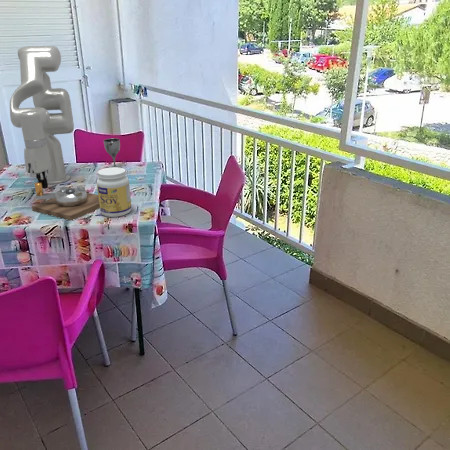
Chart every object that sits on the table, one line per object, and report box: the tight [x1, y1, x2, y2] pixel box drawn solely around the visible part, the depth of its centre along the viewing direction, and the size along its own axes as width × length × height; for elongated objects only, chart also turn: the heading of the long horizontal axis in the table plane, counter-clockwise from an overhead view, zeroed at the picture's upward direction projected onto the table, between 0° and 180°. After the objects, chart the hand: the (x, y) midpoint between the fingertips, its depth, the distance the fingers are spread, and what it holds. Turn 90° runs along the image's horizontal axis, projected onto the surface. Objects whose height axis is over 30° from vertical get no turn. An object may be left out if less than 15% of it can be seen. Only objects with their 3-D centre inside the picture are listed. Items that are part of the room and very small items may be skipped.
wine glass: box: [103, 137, 122, 168], centre depth 224 cm, size 8×8×15 cm
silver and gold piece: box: [33, 181, 87, 207], centre depth 175 cm, size 20×12×8 cm, turn 97°
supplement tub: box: [96, 166, 133, 218], centre depth 169 cm, size 12×12×17 cm
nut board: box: [31, 192, 100, 221], centre depth 178 cm, size 22×22×2 cm
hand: (43, 187), depth 178 cm, fingers closed
